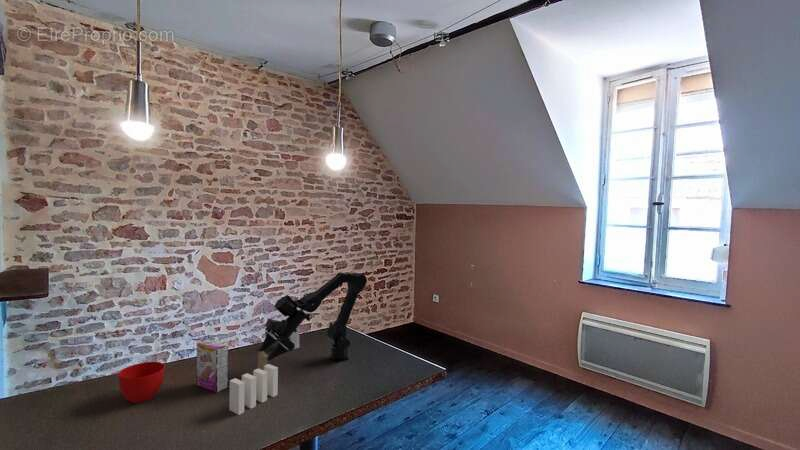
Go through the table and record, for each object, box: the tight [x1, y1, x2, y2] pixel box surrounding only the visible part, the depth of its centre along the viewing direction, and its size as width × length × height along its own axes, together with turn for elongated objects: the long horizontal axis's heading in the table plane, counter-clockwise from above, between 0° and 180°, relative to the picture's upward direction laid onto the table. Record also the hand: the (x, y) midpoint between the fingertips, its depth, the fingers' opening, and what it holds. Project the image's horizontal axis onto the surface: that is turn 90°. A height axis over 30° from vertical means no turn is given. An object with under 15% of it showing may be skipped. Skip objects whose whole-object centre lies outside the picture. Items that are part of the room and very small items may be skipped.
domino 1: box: [228, 377, 245, 416], centre depth 120 cm, size 2×5×10 cm, turn 59°
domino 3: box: [257, 350, 269, 371], centre depth 143 cm, size 2×5×10 cm, turn 39°
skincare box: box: [289, 325, 300, 350], centre depth 175 cm, size 6×4×12 cm
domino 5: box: [264, 363, 279, 398], centre depth 132 cm, size 2×5×10 cm, turn 59°
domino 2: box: [241, 372, 257, 409], centre depth 124 cm, size 2×5×10 cm, turn 59°
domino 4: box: [252, 368, 268, 403], centre depth 128 cm, size 2×5×10 cm, turn 59°
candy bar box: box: [196, 338, 229, 394], centre depth 135 cm, size 11×5×16 cm, turn 65°
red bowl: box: [118, 361, 166, 404], centre depth 128 cm, size 13×17×10 cm
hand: (264, 355), depth 143 cm, fingers open, 9 cm apart
